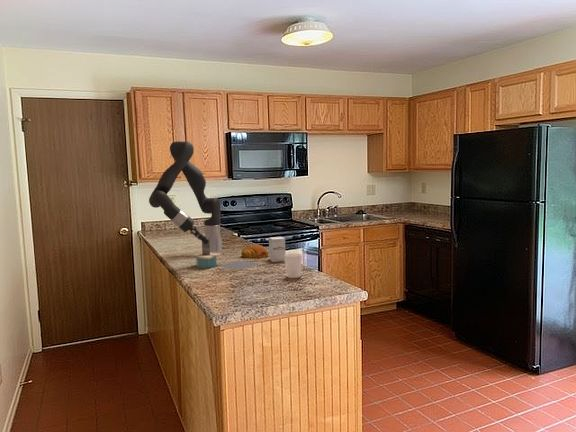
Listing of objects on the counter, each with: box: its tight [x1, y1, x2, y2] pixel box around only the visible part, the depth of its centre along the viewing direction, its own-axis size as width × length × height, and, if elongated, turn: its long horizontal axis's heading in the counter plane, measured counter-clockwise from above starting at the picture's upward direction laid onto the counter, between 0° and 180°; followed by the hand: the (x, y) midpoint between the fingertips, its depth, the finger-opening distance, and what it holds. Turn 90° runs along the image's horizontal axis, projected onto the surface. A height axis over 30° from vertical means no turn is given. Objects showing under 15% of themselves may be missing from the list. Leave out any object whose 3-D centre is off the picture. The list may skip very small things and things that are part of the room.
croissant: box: [240, 244, 269, 259], centre depth 253 cm, size 14×16×8 cm
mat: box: [217, 260, 261, 270], centre depth 230 cm, size 16×16×1 cm
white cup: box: [284, 252, 303, 279], centre depth 204 cm, size 8×8×10 cm
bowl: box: [195, 257, 218, 269], centre depth 231 cm, size 10×10×6 cm
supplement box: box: [268, 236, 286, 263], centre depth 239 cm, size 7×7×13 cm
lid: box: [187, 238, 225, 259], centre depth 230 cm, size 13×13×9 cm
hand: (206, 241), depth 230 cm, fingers open, 8 cm apart
